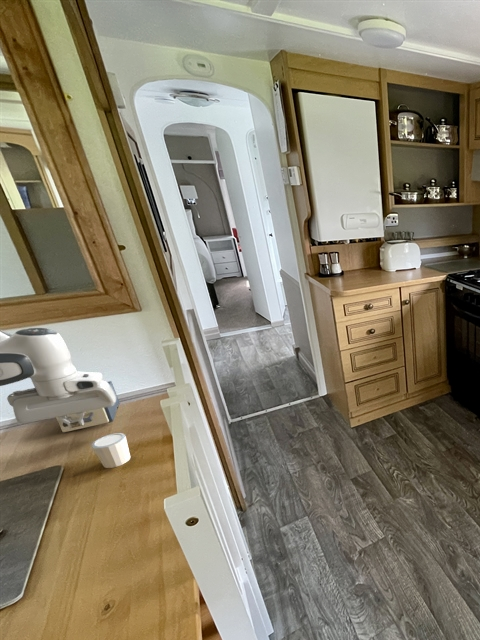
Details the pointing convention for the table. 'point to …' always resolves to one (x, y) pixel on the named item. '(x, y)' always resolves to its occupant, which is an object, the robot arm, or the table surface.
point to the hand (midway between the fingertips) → (77, 426)
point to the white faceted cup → (112, 450)
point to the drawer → (86, 419)
